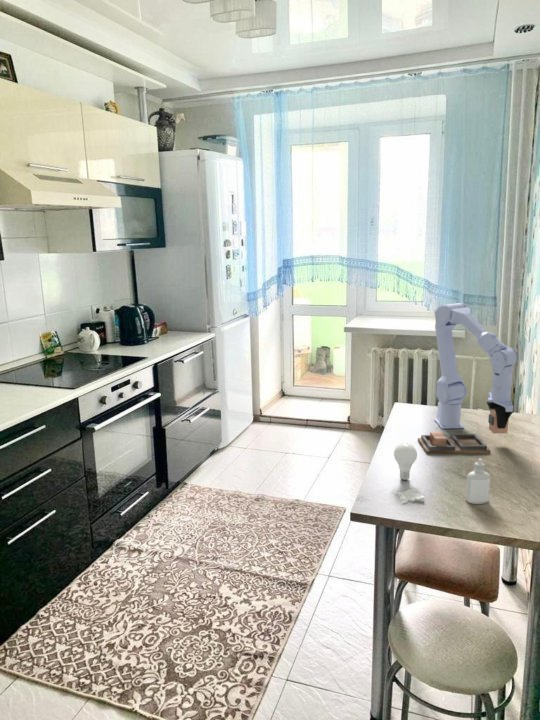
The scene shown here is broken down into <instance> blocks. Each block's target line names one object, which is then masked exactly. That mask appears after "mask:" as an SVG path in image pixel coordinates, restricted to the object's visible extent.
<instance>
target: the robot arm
mask: <svg viewBox="0 0 540 720" xmlns="http://www.w3.org/2000/svg"><path fill="white" fill-rule="evenodd" d="M471 310H472V309H471V308H470V307H468V305H467V304H466V303H464V302H456V303H449V304H441V305H439V306H438V307H437V308H436V310H435V311H434V317H435V324H434V325H435V326H434V327H435V335H436V336H435V337H436V345H437V351H438V358H439V365H440V372H441V373H440V374H441V376H440V378H438V380H437V381H436V390H435V395H436V399H437V400H438V403H437V413H436V414H437V416H436V417H435V418H434V421H435V422H436V424H437V425H438V426H439V428H441V429H443V430H444V429H447V430H448V429H464V428H465V426H464V425H463V424H462V423H461V415H462V403H463V401H464V399H465V398H466V397H467V396H468V395H467V394H468V388H467V386H466V385H465V384H466V383H465V381H464V378H463V377H462V376H461V375H459V374H458V373H459V372H458V366H457V359H456V353H455V351H456V350H455V345H454V337H453V330H454V329H455V328H456V326H457V325H462V326H463V327H464V328H465V329H466V330H468V331H469V332H470V333H471V334H472V335H473V336H474V337H475V338H476V339H477V345H478V346H479V347H480V348H481V349H482V351H484V352H485V353H486V354H487V355H488V357H489V361H490V364H491V367H492V382H491V383H492V384H491V391H489V392H488V398H487V401H486V404H487V406H488V409H489V410H490V409H495V412H496V415H497V426H498V428H499V429H500V428H505V427H506V424H507V421H508V422H509V420H508V419H510V417H511V415H512V414H513V413H514V412H515V409H514V405H513V403H512V399H511V395H512V386H513V385H512V384H513V376H514V374H513V373H514V365H516V364H517V363H518V361H519V355H518V352H517V351H516V350H515V348H514V347H508V346H507V345H506V344H505V343H503V342H502V341H501V339H499V338H498V337H497V334H496V333H494V332H492V331H486V330H485V329H484V327H483V326H482V325H481V324H480V323H479V321H478V320H477V319H476V318H475V317H474V315H473V314H472V312H471Z"/></svg>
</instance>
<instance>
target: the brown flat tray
mask: <svg viewBox="0 0 540 720" xmlns="http://www.w3.org/2000/svg"><path fill="white" fill-rule="evenodd" d="M417 442H418V443H419V445H420V446H421V448H422V449H423V451H424V452H425V454H426V455H451V454H452V455H453V454H462V455H463V454H464V455H465V454H490V453H491V449H490V448H489V447H488V445H486V443H485V442H484V441H483V440H482V439H481V438H480V437H479V436H478V435H477V434H476V433H468V434H467V433H464V434H463V433H462V434H460V433H459V434H458V433H457V434H450V437H448V436H447V434H444V433H443V432H442V431H430V432H429V434H422V435H421V436H420V437H418V438H417Z"/></svg>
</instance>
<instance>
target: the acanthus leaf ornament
mask: <svg viewBox="0 0 540 720" xmlns="http://www.w3.org/2000/svg"><path fill="white" fill-rule="evenodd" d="M395 493H396V494H395ZM394 494H395V495H397V494H399V495H400V498H399V501H400V500H401V503H400V505H402V504H403V505H405V504H404V503H406V504H408V503H409V502H410V501H411V502H410V503H414V502H417V501H421V503H422V501H423V502H424V500H425V496H424V495H422V494H421V493H420V492H419V488H418V487H412V488H409V489H407V490H405V491H402V492H400V491H399V490H398V491H397V490H395V491H394ZM399 495H398V496H399ZM407 502H408V503H407Z"/></svg>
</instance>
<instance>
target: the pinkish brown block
mask: <svg viewBox="0 0 540 720" xmlns="http://www.w3.org/2000/svg"><path fill="white" fill-rule="evenodd" d="M489 411H490V412H489V414H488V421H487V422H488V430H489V431H491V433H492V434H508V431H509V430H508V429H509V419H510V418H509V419H508V421H507V424H506V427H505V428H500V429H499V428H498V426H497V415H496V412H495V409H489Z"/></svg>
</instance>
